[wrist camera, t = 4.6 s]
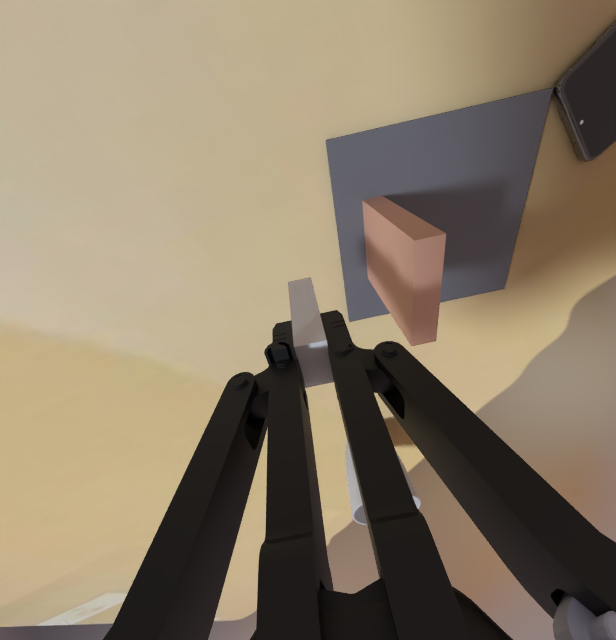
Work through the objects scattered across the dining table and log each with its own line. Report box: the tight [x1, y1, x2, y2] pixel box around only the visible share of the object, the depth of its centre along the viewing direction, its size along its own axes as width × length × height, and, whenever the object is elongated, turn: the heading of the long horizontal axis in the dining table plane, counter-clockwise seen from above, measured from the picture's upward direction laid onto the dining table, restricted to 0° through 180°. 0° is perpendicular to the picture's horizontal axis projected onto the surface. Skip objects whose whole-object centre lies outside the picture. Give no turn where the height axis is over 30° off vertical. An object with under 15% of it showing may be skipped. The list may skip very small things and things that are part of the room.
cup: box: [346, 440, 420, 525], centre depth 37 cm, size 8×8×10 cm
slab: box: [362, 196, 446, 346], centre depth 20 cm, size 7×2×10 cm, turn 11°
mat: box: [326, 88, 553, 322], centre depth 24 cm, size 16×16×1 cm
